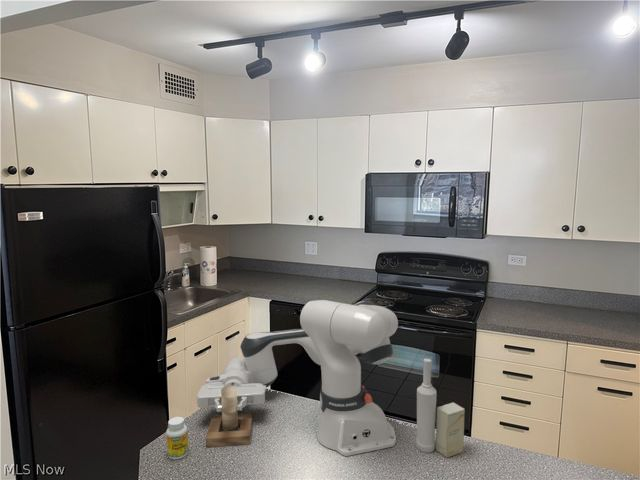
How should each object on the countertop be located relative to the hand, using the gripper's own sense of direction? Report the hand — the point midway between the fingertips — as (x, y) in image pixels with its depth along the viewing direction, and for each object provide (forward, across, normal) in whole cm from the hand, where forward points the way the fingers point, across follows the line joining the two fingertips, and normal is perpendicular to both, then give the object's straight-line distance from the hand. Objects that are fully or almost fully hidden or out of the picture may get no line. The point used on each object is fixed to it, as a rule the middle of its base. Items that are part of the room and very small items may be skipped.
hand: (229, 409), depth 120 cm
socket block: (-1, 0, -8) cm, 8 cm away
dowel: (-1, 0, -6) cm, 7 cm away
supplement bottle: (+7, +13, -8) cm, 17 cm away
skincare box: (+14, -60, -8) cm, 62 cm away
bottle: (+12, -54, -8) cm, 56 cm away
